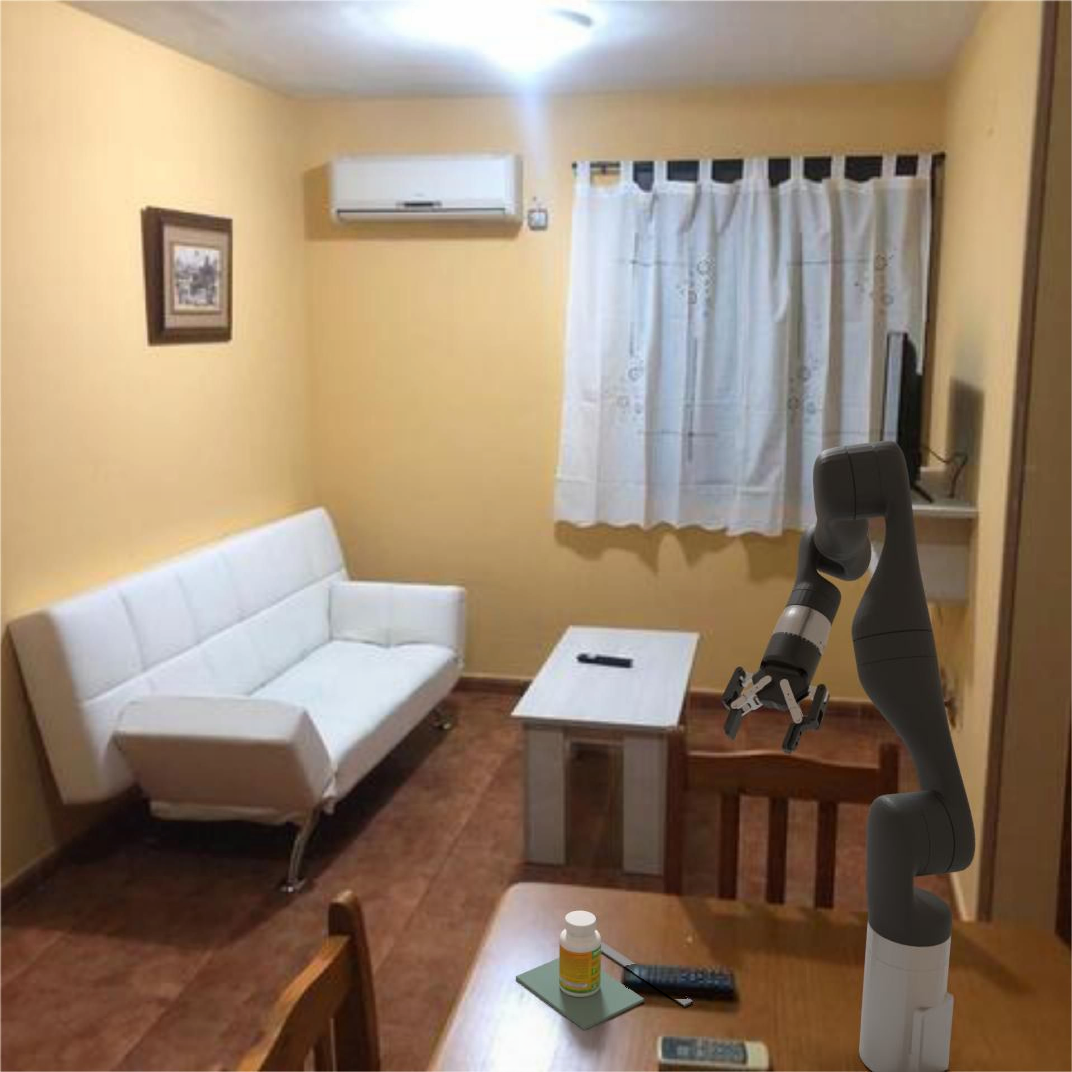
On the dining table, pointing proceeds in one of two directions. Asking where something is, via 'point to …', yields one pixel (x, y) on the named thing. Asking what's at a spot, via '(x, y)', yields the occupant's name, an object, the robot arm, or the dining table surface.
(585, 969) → the supplement bottle
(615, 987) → the mat
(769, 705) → the robot arm
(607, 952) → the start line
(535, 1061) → the dining table surface
